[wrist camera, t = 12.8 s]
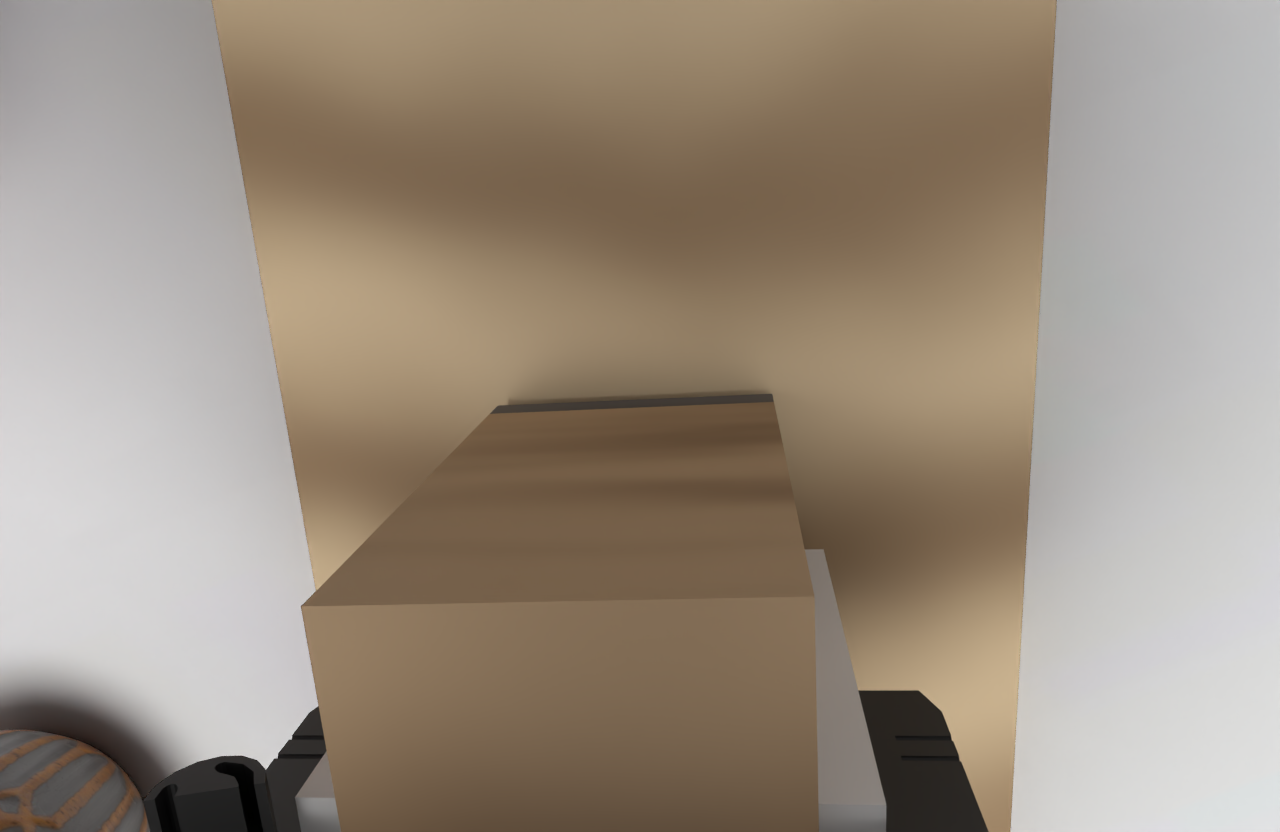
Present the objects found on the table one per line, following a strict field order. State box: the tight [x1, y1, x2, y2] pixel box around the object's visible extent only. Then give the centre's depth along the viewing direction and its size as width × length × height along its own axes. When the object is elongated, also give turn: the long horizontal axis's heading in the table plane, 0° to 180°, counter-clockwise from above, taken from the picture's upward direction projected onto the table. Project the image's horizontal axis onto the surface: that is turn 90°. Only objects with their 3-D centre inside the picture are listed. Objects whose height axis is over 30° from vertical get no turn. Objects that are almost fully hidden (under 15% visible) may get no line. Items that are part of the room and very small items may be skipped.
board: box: [212, 0, 1057, 832], centre depth 18 cm, size 23×14×1 cm, turn 4°
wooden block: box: [301, 394, 819, 832], centre depth 14 cm, size 8×5×8 cm, turn 4°
